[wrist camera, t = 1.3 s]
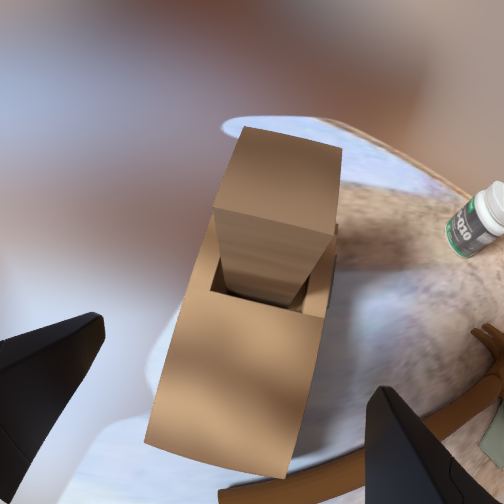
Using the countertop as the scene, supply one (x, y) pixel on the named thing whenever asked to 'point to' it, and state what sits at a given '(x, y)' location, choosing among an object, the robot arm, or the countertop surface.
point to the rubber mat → (495, 439)
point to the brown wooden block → (275, 213)
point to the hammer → (353, 465)
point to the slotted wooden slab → (239, 370)
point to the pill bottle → (477, 222)
